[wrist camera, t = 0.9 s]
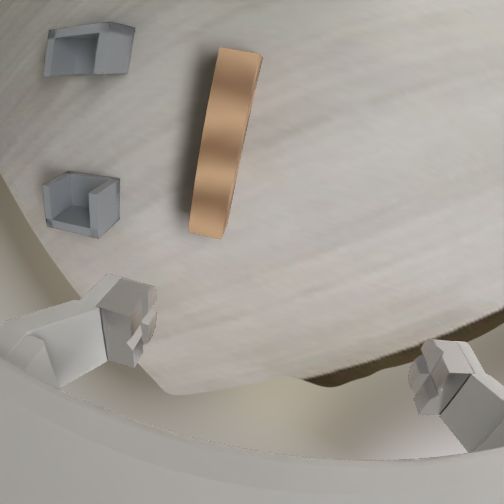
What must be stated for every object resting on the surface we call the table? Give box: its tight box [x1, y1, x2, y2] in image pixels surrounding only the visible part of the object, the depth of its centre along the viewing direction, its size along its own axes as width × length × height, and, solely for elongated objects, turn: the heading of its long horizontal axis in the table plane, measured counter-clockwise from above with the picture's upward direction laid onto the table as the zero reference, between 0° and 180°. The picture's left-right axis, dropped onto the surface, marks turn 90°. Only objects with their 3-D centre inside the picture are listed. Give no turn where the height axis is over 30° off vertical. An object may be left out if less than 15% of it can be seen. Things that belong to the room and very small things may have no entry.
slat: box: [188, 48, 263, 239], centre depth 33 cm, size 21×4×4 cm, turn 168°
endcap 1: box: [43, 22, 135, 77], centre depth 27 cm, size 6×9×6 cm, turn 80°
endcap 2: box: [43, 171, 120, 239], centre depth 38 cm, size 6×9×6 cm, turn 80°
